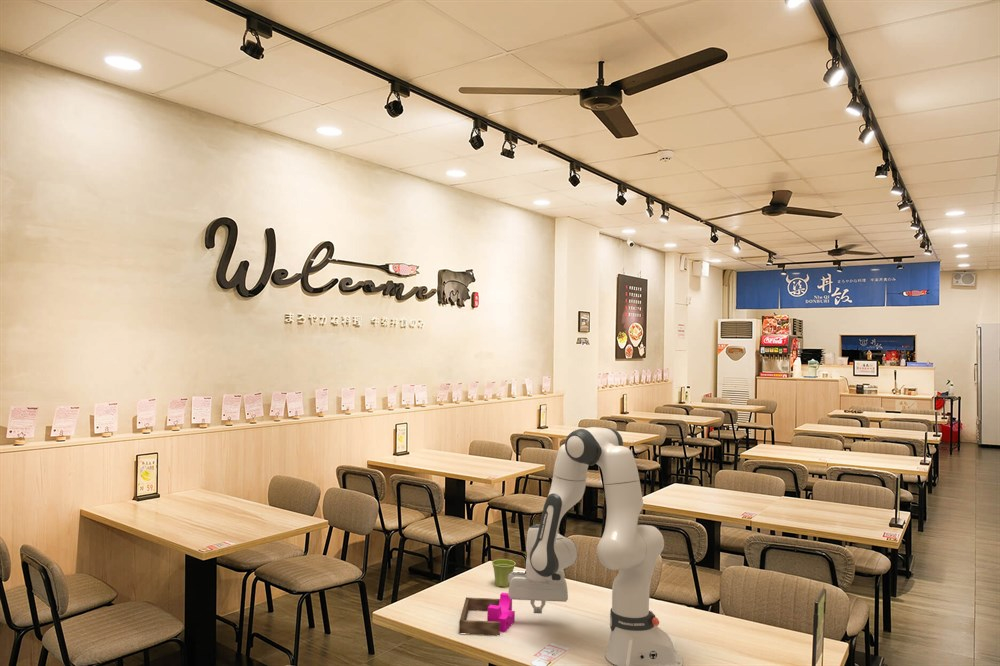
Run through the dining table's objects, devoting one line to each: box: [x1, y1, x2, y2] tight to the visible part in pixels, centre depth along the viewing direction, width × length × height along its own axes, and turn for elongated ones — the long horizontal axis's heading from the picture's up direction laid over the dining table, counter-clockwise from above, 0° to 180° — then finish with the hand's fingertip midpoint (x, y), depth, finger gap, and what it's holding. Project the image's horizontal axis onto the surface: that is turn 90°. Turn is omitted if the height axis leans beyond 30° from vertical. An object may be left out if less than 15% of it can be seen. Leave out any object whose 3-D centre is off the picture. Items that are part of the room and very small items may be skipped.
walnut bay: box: [458, 597, 501, 636], centre depth 227 cm, size 13×21×4 cm, turn 177°
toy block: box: [486, 591, 516, 633], centre depth 227 cm, size 15×6×8 cm, turn 161°
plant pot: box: [491, 558, 517, 588], centre depth 264 cm, size 9×9×9 cm
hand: (537, 612), depth 226 cm, fingers closed
